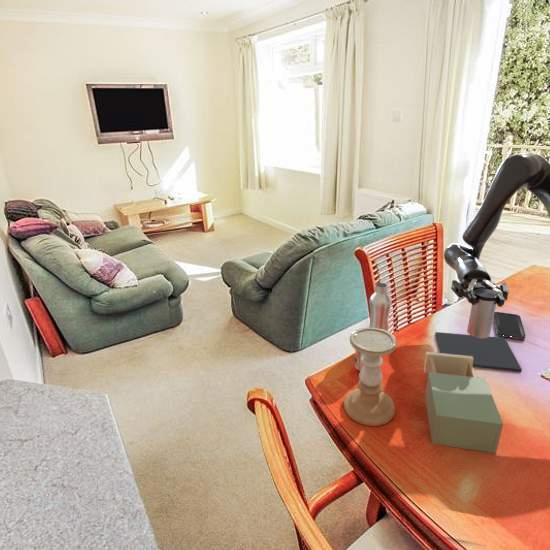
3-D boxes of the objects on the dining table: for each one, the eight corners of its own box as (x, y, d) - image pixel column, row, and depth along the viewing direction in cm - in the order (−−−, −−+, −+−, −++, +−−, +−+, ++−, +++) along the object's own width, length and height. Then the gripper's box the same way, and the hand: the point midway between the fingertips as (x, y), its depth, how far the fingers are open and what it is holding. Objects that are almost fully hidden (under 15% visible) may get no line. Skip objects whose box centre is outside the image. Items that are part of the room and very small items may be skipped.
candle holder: (405, 412, 91) (413, 342, 83) (368, 435, 85) (373, 361, 77) (369, 384, 100) (373, 319, 92) (333, 403, 95) (334, 335, 87)
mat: (504, 339, 116) (504, 337, 116) (521, 371, 102) (522, 369, 102) (435, 334, 121) (435, 331, 121) (442, 363, 107) (442, 361, 107)
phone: (519, 314, 127) (526, 337, 115) (519, 317, 128) (525, 340, 115) (493, 311, 130) (496, 332, 118) (492, 314, 131) (496, 335, 118)
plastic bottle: (378, 350, 114) (383, 291, 107) (362, 340, 120) (365, 284, 112) (393, 343, 118) (398, 285, 110) (376, 334, 123) (380, 278, 115)
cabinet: (425, 398, 95) (428, 372, 92) (479, 405, 92) (485, 378, 88) (432, 443, 82) (436, 415, 79) (496, 453, 79) (503, 424, 76)
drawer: (423, 368, 104) (425, 349, 102) (467, 372, 102) (471, 353, 99) (429, 404, 91) (432, 384, 89) (480, 411, 88) (485, 390, 86)
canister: (487, 328, 102) (495, 288, 97) (492, 339, 97) (501, 298, 93) (465, 326, 103) (471, 287, 99) (469, 337, 99) (476, 297, 94)
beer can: (356, 361, 110) (357, 326, 105) (372, 364, 108) (375, 328, 104) (353, 371, 106) (354, 335, 101) (370, 374, 104) (372, 337, 100)
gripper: (447, 262, 109) (458, 287, 94) (502, 265, 106) (523, 291, 91) (444, 286, 112) (454, 313, 97) (497, 289, 109) (516, 317, 94)
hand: (487, 302), depth 94 cm, fingers closed on canister, 5 cm apart
